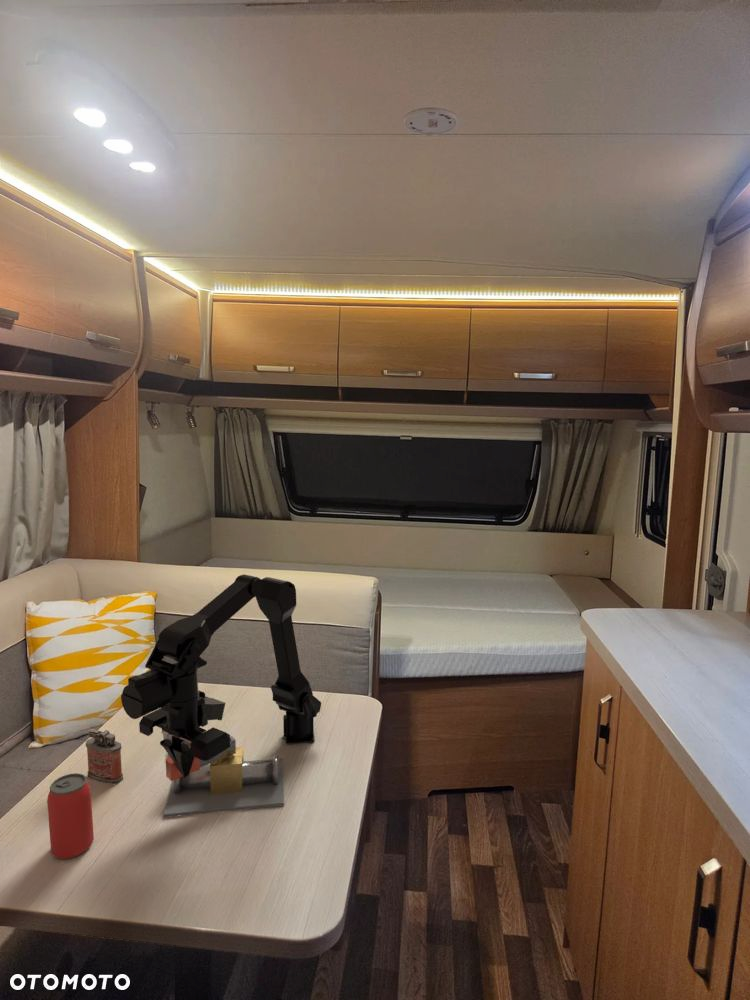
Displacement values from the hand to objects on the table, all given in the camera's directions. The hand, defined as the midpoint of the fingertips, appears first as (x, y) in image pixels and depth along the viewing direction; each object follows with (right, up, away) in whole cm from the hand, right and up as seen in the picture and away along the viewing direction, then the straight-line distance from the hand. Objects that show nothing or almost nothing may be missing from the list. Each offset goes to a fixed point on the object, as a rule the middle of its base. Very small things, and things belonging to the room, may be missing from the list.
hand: (185, 775), depth 109 cm
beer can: (-17, -9, -7) cm, 21 cm away
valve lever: (+2, 0, +5) cm, 5 cm away
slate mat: (+5, -7, +9) cm, 13 cm away
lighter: (-20, -6, +12) cm, 24 cm away
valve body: (+5, -7, +9) cm, 13 cm away
